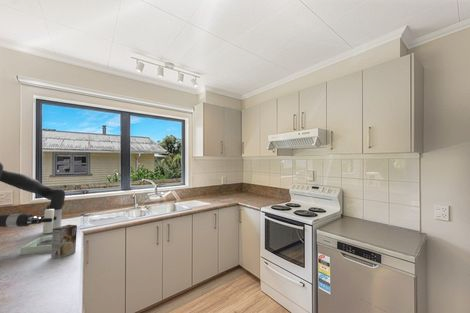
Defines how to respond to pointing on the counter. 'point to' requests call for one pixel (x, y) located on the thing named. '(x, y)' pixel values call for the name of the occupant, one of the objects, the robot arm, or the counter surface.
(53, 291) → the counter surface
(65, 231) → the coffee box
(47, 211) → the white cylinder
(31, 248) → the sage box
